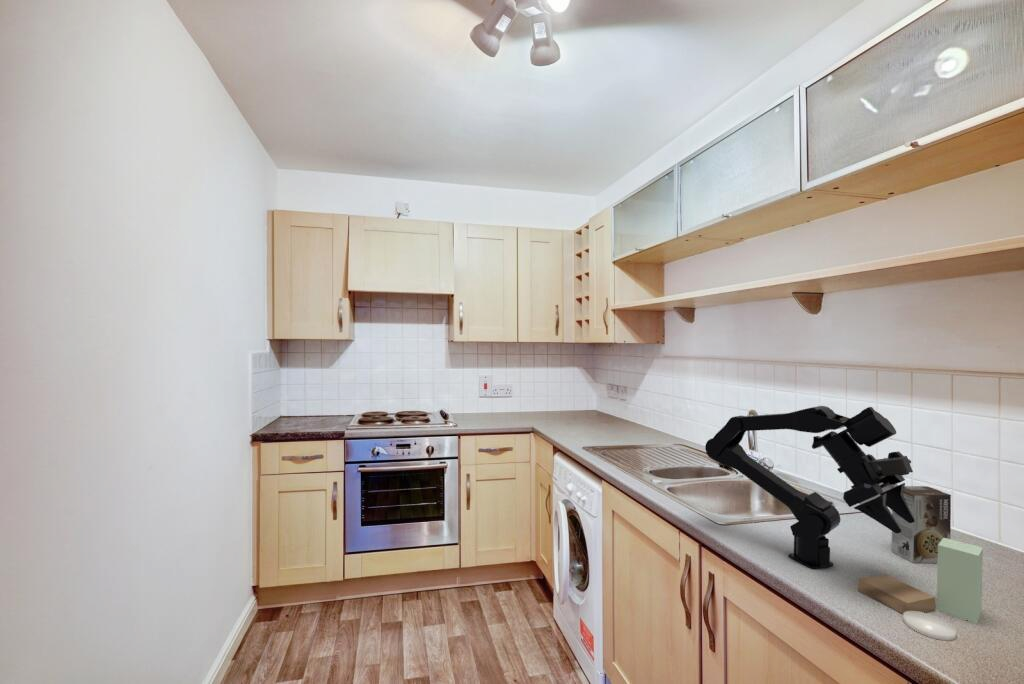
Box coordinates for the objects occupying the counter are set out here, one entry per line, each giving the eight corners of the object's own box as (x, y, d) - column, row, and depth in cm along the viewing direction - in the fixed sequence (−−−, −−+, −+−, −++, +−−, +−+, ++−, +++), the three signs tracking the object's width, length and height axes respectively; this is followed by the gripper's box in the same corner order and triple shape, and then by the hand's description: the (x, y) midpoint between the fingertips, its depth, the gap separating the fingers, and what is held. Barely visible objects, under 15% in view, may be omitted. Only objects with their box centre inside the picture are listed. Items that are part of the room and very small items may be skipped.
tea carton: (936, 610, 88) (937, 544, 88) (942, 600, 92) (943, 537, 92) (977, 624, 84) (978, 555, 84) (981, 613, 87) (982, 547, 87)
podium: (858, 590, 94) (858, 578, 94) (884, 585, 97) (885, 574, 97) (907, 616, 86) (907, 603, 86) (935, 610, 88) (935, 597, 88)
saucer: (893, 619, 85) (893, 613, 85) (920, 613, 87) (920, 608, 87) (938, 643, 78) (938, 637, 78) (966, 636, 80) (966, 630, 80)
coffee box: (925, 551, 114) (927, 485, 114) (951, 563, 107) (953, 494, 107) (889, 551, 113) (891, 485, 113) (913, 563, 107) (914, 494, 107)
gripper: (870, 444, 91) (936, 522, 83) (899, 434, 102) (959, 502, 94) (819, 469, 98) (876, 544, 90) (852, 458, 109) (904, 523, 101)
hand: (906, 527), depth 93 cm, fingers open, 9 cm apart
